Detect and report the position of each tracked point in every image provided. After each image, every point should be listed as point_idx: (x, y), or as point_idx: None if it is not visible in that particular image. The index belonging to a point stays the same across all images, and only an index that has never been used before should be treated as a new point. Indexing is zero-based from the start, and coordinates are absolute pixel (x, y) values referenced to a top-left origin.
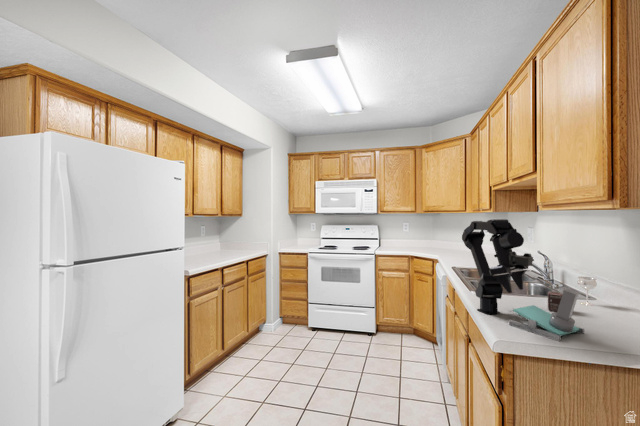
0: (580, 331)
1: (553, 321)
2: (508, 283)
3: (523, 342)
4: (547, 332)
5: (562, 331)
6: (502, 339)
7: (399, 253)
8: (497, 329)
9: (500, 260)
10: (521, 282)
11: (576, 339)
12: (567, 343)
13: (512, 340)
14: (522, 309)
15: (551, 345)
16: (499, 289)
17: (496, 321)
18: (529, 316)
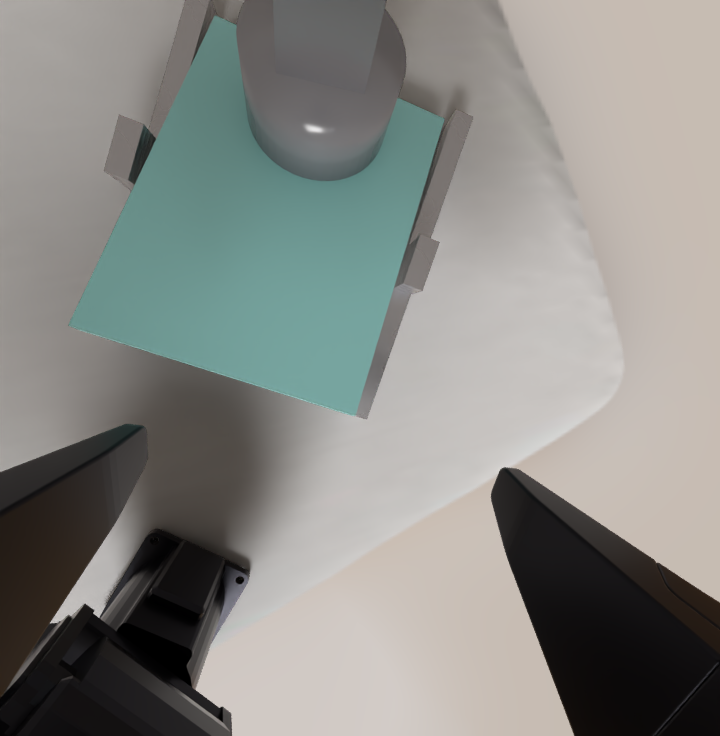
0: None
1: (383, 130)
2: (664, 577)
3: (598, 277)
4: (448, 183)
5: None
6: (621, 365)
7: None
8: (489, 432)
9: None
10: (60, 490)
11: None
12: (464, 93)
13: (604, 325)
14: (287, 366)
15: (551, 158)
16: (102, 691)
17: (348, 485)
18: (367, 297)
